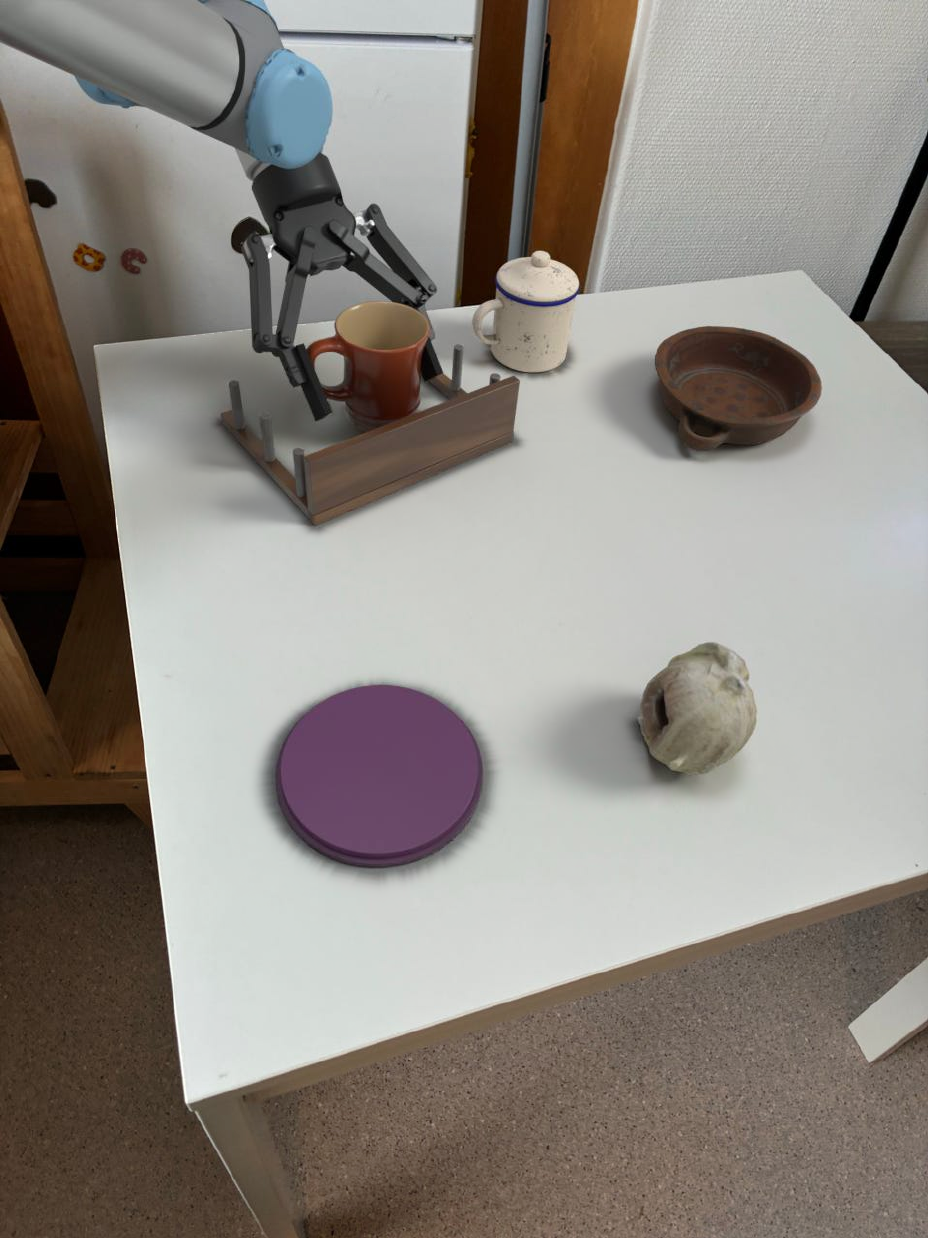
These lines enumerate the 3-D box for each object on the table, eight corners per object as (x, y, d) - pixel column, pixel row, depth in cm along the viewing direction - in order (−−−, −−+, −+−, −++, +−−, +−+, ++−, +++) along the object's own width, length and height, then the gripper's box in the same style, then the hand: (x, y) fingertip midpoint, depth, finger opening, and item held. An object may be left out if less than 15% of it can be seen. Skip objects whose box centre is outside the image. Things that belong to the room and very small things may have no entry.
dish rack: (221, 422, 91) (211, 360, 85) (411, 356, 101) (413, 296, 95) (315, 525, 82) (310, 463, 76) (513, 441, 92) (521, 380, 86)
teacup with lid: (542, 324, 107) (556, 228, 98) (582, 365, 102) (601, 267, 93) (452, 344, 103) (458, 245, 94) (489, 387, 98) (499, 287, 89)
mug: (406, 385, 94) (409, 294, 87) (439, 434, 89) (445, 341, 82) (295, 407, 91) (288, 313, 83) (323, 459, 86) (317, 364, 78)
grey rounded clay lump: (668, 713, 73) (706, 607, 68) (758, 771, 68) (806, 661, 64) (597, 750, 67) (633, 636, 62) (691, 817, 62) (738, 699, 57)
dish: (608, 427, 94) (617, 386, 91) (690, 337, 107) (701, 299, 103) (766, 493, 89) (783, 453, 85) (833, 390, 102) (850, 351, 98)
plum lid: (238, 749, 65) (236, 740, 65) (406, 660, 72) (406, 651, 71) (347, 909, 58) (347, 902, 57) (523, 794, 65) (525, 785, 64)
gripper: (382, 163, 90) (463, 370, 94) (154, 213, 80) (256, 445, 83) (414, 124, 84) (499, 349, 87) (170, 174, 73) (280, 428, 77)
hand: (381, 396), depth 85 cm, fingers closed on mug, 12 cm apart
